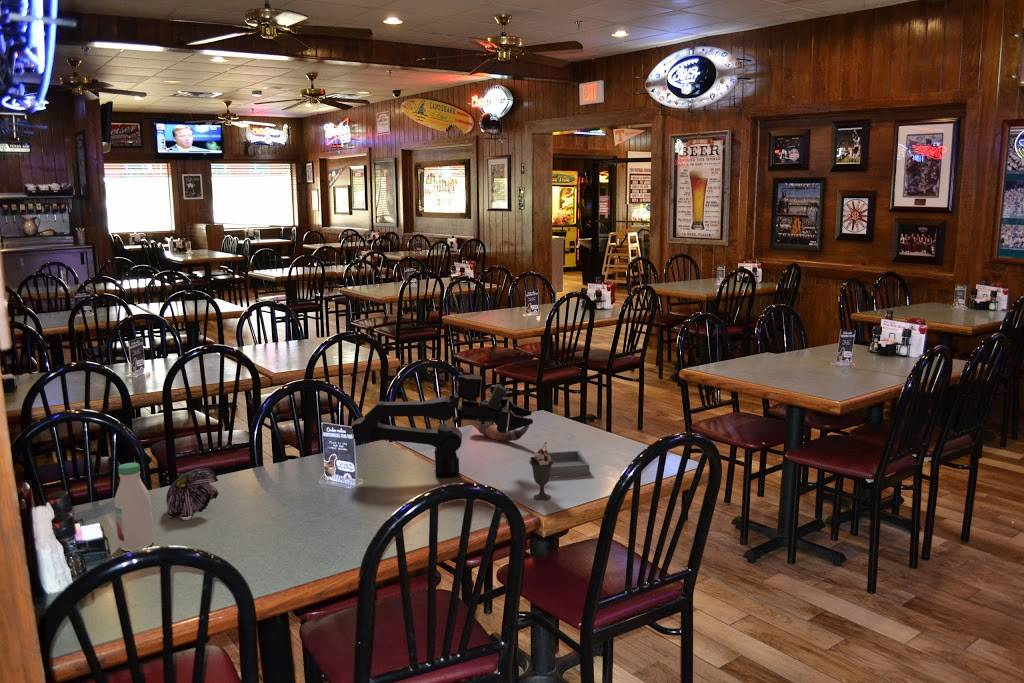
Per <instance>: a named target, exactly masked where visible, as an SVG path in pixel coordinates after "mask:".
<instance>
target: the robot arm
mask: <svg viewBox="0 0 1024 683" xmlns="http://www.w3.org/2000/svg"><path fill="white" fill-rule="evenodd" d="M457 382H458V385H457V391H456V392H455V393H453V394H451V395H449V396H446V395H445V396H440V397H435V398H431V399H428V400H423V401H422V400H421V401H383V400H381V401H378V402H376V403H375V405H374V406H373V408H371V409H370V410H369V411H368V412H367V413H366V414H365V415H364V416H362V417H358V418H357V419H356V420H354V422H353V424H352V425H351V427H352V429H353V434H354V439H355V441H354V442H355V443H361V444H362V443H371V442H375V441H389V442H390V441H391V442H398V443H399V442H401V443H411V444H419V445H420V444H421V445H429V446H432V447H434V474H435V475H434V476H435V478H436V477H437V479H439V478H438V477H442V478H453V477H459V473H460V459H459V456H458V455H457V451H458V450H459V449H460V448H461V446H462V440H463V433H462V431H461V430H460V429H459V428H461V427H462V421H467V422H469V421H476V422H477V420H478V422H481V424H485V423H494V425H495V426H496V427H497V430H498V432H499V433H504V434H506V432H507V431H508V432H512V431H513V430H518V429H521V428H523V427H524V426H527V425H529V426H530V425H533V423H534V419H532V418H531V419H529V418H530V417H529V416H532V414H533V412H532V410H529V409H526V408H523V407H521V406H518V405H515V403H514V402H513V401H512V400H511V398H509V397H508V396H506V395H507V394H506V393H507V391H508V390H507V387H505V386H502V384H500V383H499V384H498V383H496V384H491V386H490V387H489V392H490V393H491V394H490V396H489V399H484V400H483V401H477V399H478V398H481V392H482V385H483V384H482V382H483V376H481V375H478V374H471V373H470V374H464V375H461V374H459V375H458V379H457ZM460 400H461V406H459V405H460ZM456 409H457V410H456ZM455 412H456V416H455V417H454V415H455ZM394 417H396V418H398V417H401V418H403V417H404V418H405V417H425V418H429V419H433V420H437V421H443V422H444V421H449V420H451V419H452V418H453V417H454V418H453V422H454V423H455V424H456V425H457V426H458V427H457V426H454V425H453V424H444V423H438V426H437V428H433V429H430V428H421V427H411V426H400V425H390V424H385V423H381V422H380V421H381V420H382V419H383V418H394ZM528 417H529V418H528Z"/></svg>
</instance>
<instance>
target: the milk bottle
mask: <svg viewBox="0 0 1024 683" xmlns="http://www.w3.org/2000/svg"><path fill="white" fill-rule="evenodd" d="M117 470H118V471H117V472H118V473H117V474H118V477H119V478H120V479H119V483H118V487H117V490H116V492H115V496H114V512H115V522H116V532H117V540H118V547H121V548H126V549H127V548H128V549H134V548H138V547H141V546H143V545H147V544H149V543H151V542H153V541H154V542H155V534H154V533H155V531H154V530H155V529H154V522H153V514H152V512H153V511H152V505H151V504H152V503H151V496H150V493H149V491H148V489H147V487H146V486H145V484H144V483H143V481H142V479H141V476H140V474H141V466H140V464H139V462H127V463H122V464H120V465H119V466H118V468H117ZM142 548H144V547H142ZM134 550H136V549H134Z"/></svg>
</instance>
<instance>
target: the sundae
mask: <svg viewBox="0 0 1024 683" xmlns="http://www.w3.org/2000/svg"><path fill="white" fill-rule="evenodd" d="M547 443H548V442H547V441H545V442H544V444H543V447H541V448H539V450H538V451H537V452H535V453H536V454H535V453H534V455H533V456H531V457H530V458H529V459H530V460H529V462H528V463H529V464H530V465H531V468H532V475H533V479H534V482H535V484H537V485H538V486H539V493H537V494H534V495H533V496H532V498H533V497H534V498H533V500H535V499H536V500H535V501H538V500H540V501H539V502H542V501H541V500H546V501H550V498H551V499H552V496H551V495H550V494H549V493H548V494H547V493H546V492H545V486H546V485H547V484H548V483H549V482H550V478H551V477H550V472H551V465H552V464H553V463H554V461H553V460H551V457H550V456H549V455H548V452H549V451H548V450H547ZM544 447H545V450H543V449H544Z"/></svg>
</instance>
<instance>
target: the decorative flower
mask: <svg viewBox="0 0 1024 683" xmlns="http://www.w3.org/2000/svg"><path fill="white" fill-rule="evenodd" d="M217 477H218V474H216V472H214V471H213V470H212V468H207V467H202V468H201V467H200V468H195V469H193V470H189V471H186V472H184V473H182V474H181V475H180V476H178V477H177V478H176V480H175V481H173V482H172V484H171V485H170V486H169V488H168V489H167V492H166V499H165V500H166V506H167V508H166V509H167V511H166V513H167V514H168V515H169V516H172V517H173V518H177V517H178V518H179V517H188V516H192V517H193V516H194V510H195V511H196V512H198V513H200V512H203V511H204V510H207V507H209V503H210V501H211V500H213V499H215V500H216V499H217V497H218V496H219V491H218V489H217V488H216V487H215V486H213V484H211V483H216V482H218V481H219V479H218V478H217ZM168 515H167V516H168ZM172 517H171V518H172Z"/></svg>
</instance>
